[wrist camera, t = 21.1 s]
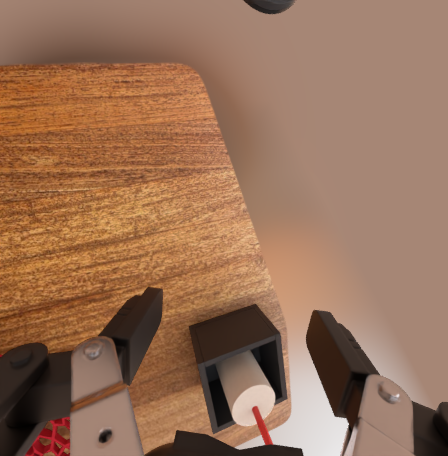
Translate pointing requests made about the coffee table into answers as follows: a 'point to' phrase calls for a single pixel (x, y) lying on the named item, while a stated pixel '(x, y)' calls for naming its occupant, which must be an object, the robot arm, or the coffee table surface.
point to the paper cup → (247, 391)
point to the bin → (231, 346)
